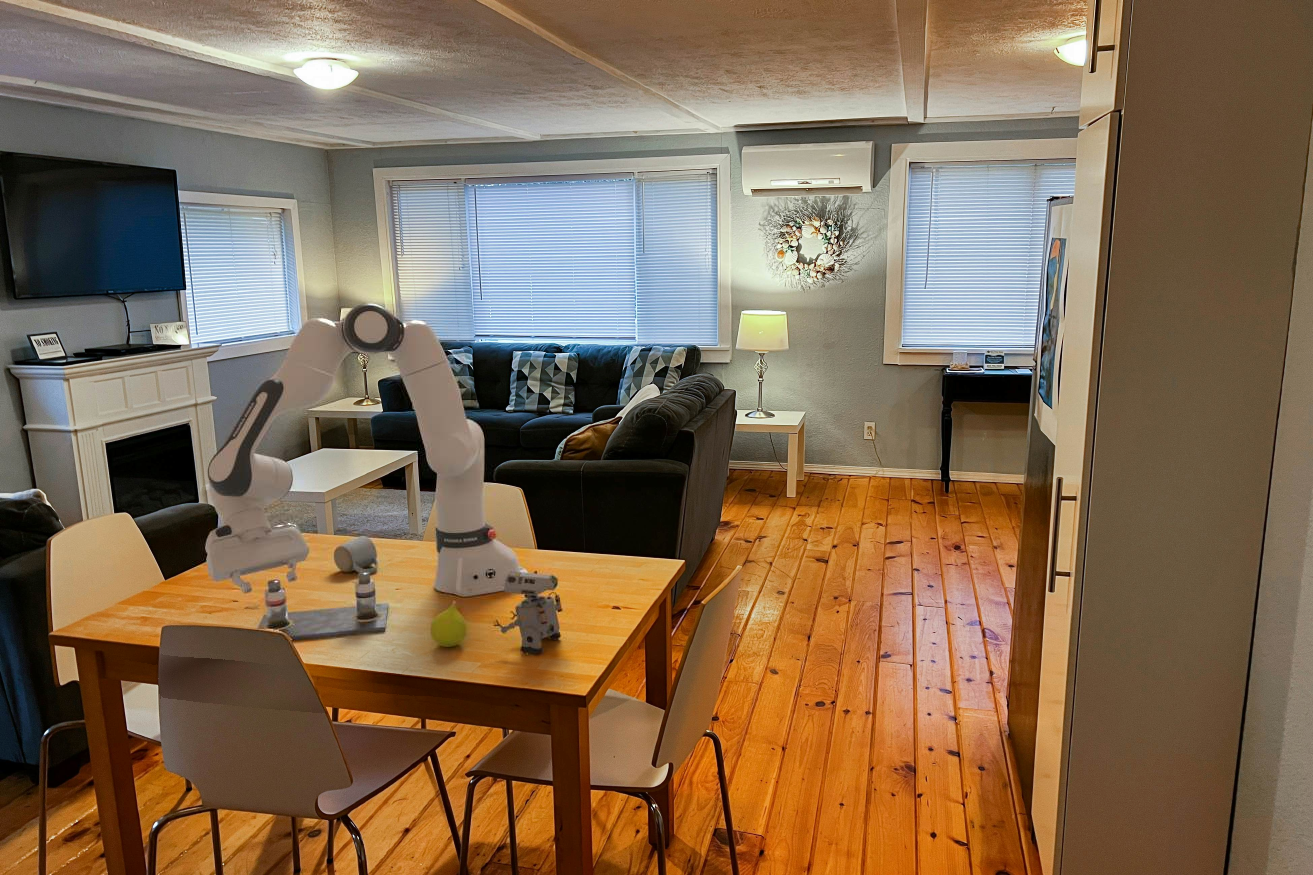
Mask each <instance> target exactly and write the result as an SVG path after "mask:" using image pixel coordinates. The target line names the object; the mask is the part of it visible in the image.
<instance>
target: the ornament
mask: <svg viewBox="0 0 1313 875" xmlns="http://www.w3.org/2000/svg"><path fill="white" fill-rule="evenodd" d="M455 596H456V597H458V595H456V594H455ZM456 603H457V601H456V600H453V601H452V604H451V605H450V607H449V608H448V609H446V610H444V611H442V612H440V613H438V614H437V615H436V616H435V617H434V619H432V621H431V625H430V635H431V638H432V639H433V641H434V642H435V643H436V644H437V645H438V646H441V647H444V648H452V647H455V646H457V645H459V644H460V643H461V642H462V641H463V640H464V639H465V637H466V636H467V631H468V626H467V622H466V620H465V618H464V617H463V616H462V614H461V613H460V612H459V611H458V610H457V607H456Z"/></svg>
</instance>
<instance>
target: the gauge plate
mask: <svg viewBox="0 0 1313 875" xmlns="http://www.w3.org/2000/svg"><path fill="white" fill-rule="evenodd" d="M376 608H377V616H376V617H374V618H371V619H359V618H358V616H357V605H354V606H344V607H334V608H321V609H311V610H302V611H300V610H299V611H291V612H287V613H288V624H287V625H286V626H283V627H280V628H270V627H268V620H267V614H263V616H262V618H261V620H260V622H259V624H258V627H257V629H273V630H279V631H282V632H284V633H286V634H287V635H288V636H289V637H290V638H291V639H292V641H293V642H294V641H302V640H301V639H304V640H310V639H311V638H312V639H311V640H313V638H314V639H323V638H331V637H332V638H333V637H341V636H351V635H361V634H363V635H364V634H371V633H373V634H374V633H380V632H382V633H383V632H386V628H387V621H388V614H389V613H388V612H389V602H386V603H385V602H384V603H376ZM257 629H256V630H257ZM292 641H291V642H292Z"/></svg>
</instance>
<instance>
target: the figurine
mask: <svg viewBox="0 0 1313 875" xmlns="http://www.w3.org/2000/svg"><path fill="white" fill-rule="evenodd" d="M505 581H506V582H505V586H504V589H505V590H504V593H505V594H515V595H524V598H525V599H523V600H522V601H521V602H520V603H518V604H517V605H515V606H514V609H515V612H513V610H511V611H510V612H509V614H510V615H511V613H512V614H513V617H511V616H509V618H510V619H511V620H513V619H514V618H515V617H516V619H515V620H514V622H510V623H508V624H507V625H504V626H503V625H502V624H500V623H499V621H498V620H497V619H496V620H495V621H494V623H493V626H494V627H499V628H500V632H501V633H502V634H506V633H507V631H509V630H513V629H515V628H516V627H518V629H519V632H520V637H521V646H520V652H522V654H523V653H524V654H526V653H528V654H527V655H529V654H531V655H532V654H535V656H536V655H538V656H539V655H541V654H543V652H544V651H543V646H542V644H541V643H542V642H541V639H545V638H547V639H550V640H551V639H552V640H554V639H557V640H559V639H560V638H561V632H560V624H559V619H558V614H557V613H561V612H563V608H562V603H561V598H560V595H558V594H557V593H556V592H555V590H556V588H557V586H558V585H559V584H558V583H559V578H558V577H556V576H555V575H553V574H545V573H544V574H543V573H538V571H537V570H534V572H528V573H523V572H511V571H510V572H509V573H508V575H507V578H506V580H505ZM547 591H553V592H550V593H549V594H548V596H544V595H541V594H542V593H544V592H547ZM552 594H555V596H554V598H553V597H552V596H551V595H552ZM495 622H496V623H495Z"/></svg>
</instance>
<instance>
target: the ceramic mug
mask: <svg viewBox="0 0 1313 875" xmlns="http://www.w3.org/2000/svg"><path fill="white" fill-rule="evenodd" d="M377 553H378V552H377V548H376V545H375V544H374V542H373V541H372V540H371V539H370V538H369V537H368V536H365V535H361V536H359V537H356V538H353V539H351V540H349V541H346V542H344V543H342V544H340V545H338V546H337V547H336V548H335V549H334V552H333V560H334V563H335V565H336V567H337V568H338V569H339V570H340V571H341V572H344V573H351V572H354V571H356V572H358V574H359V573H361V572H370V575H371V574H375V572H377V570H378V567H379V562H378V560H377V558H378V554H377ZM372 565H374V567H372V568H367V567H370V566H372Z"/></svg>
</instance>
